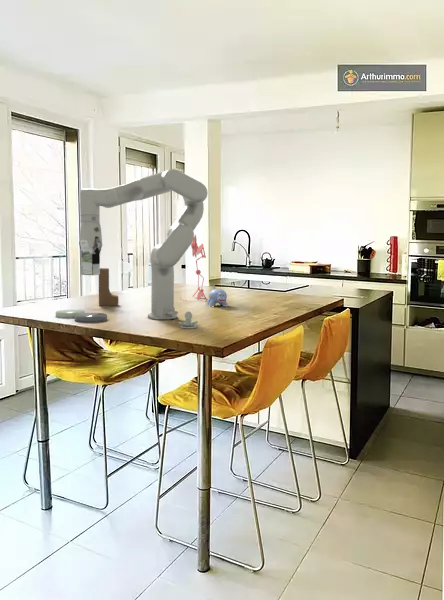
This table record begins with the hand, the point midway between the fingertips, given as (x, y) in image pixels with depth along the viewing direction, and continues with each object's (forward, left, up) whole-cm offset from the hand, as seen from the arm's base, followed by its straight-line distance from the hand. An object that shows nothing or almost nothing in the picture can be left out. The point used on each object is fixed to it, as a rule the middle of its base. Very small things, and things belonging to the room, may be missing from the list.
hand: (90, 263), depth 216 cm
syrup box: (0, 0, -5) cm, 5 cm away
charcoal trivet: (0, 0, -24) cm, 24 cm away
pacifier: (-37, -21, -24) cm, 49 cm away
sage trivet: (+14, +2, -24) cm, 28 cm away
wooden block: (+30, -27, -24) cm, 47 cm away
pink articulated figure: (+24, -76, -24) cm, 83 cm away
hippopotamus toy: (-3, -69, -24) cm, 73 cm away
